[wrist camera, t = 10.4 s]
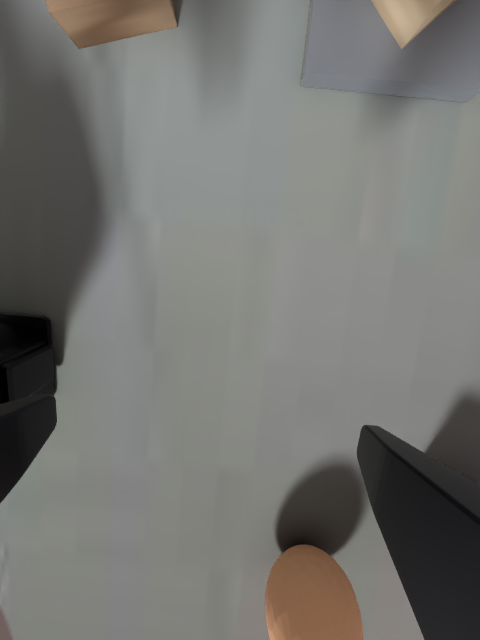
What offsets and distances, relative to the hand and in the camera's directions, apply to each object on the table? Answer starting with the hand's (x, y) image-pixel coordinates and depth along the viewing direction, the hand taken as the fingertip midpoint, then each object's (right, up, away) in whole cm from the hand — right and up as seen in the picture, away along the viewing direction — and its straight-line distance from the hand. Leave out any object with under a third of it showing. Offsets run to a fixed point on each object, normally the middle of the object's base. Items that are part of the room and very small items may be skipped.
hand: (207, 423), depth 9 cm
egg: (+6, -17, +18) cm, 25 cm away
